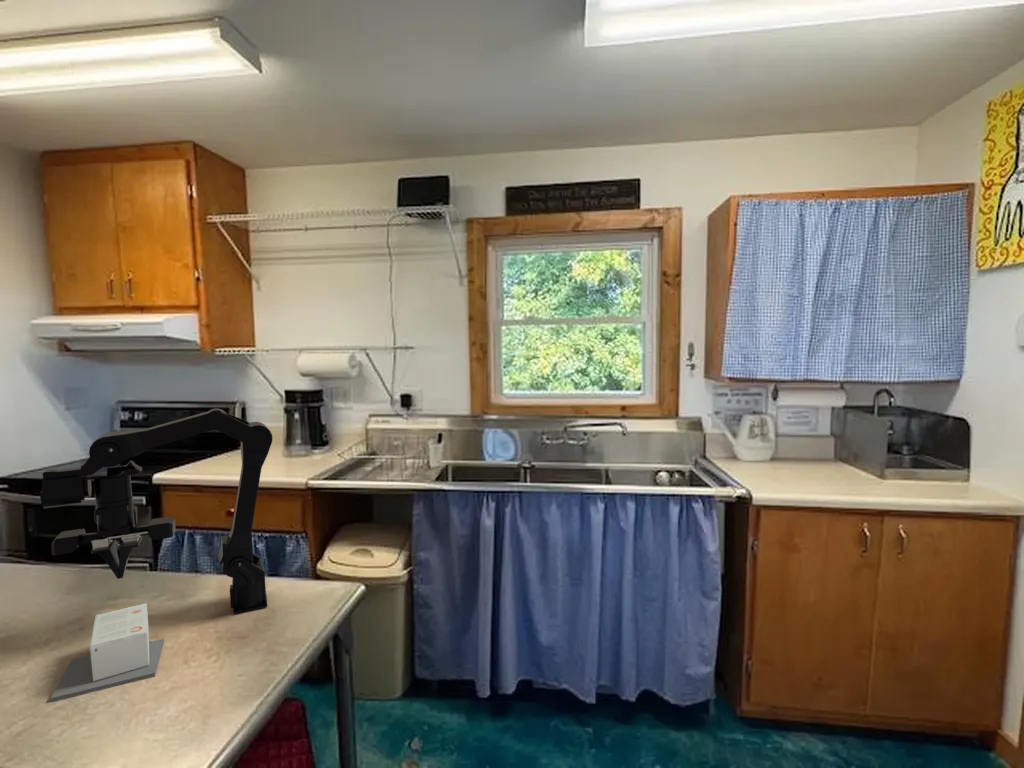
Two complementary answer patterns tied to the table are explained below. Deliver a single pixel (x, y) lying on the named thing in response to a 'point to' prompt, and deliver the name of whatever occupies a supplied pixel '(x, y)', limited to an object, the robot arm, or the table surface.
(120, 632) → the small box
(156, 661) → the mat
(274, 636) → the table surface
